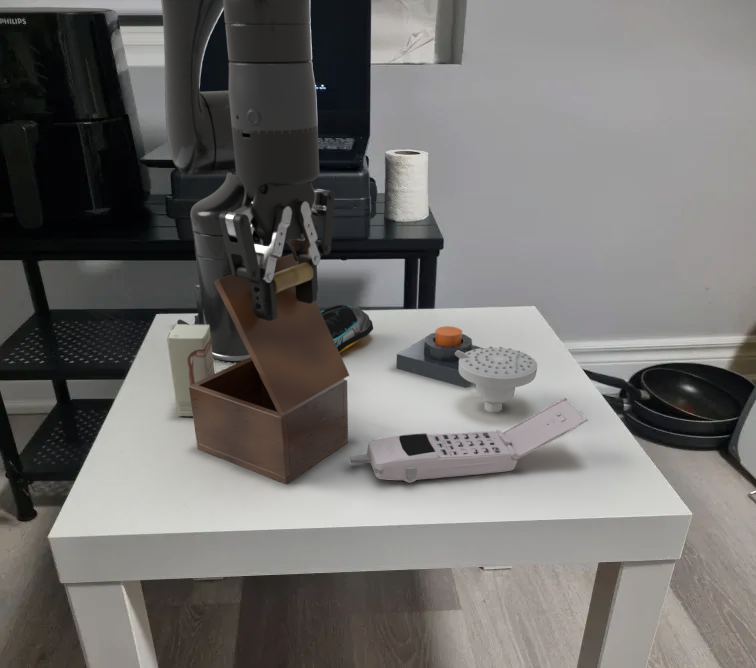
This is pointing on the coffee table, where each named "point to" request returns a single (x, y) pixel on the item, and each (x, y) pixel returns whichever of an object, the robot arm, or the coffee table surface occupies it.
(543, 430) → the mobile phone
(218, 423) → the chest
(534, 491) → the coffee table surface
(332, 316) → the computer mouse
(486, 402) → the showerhead
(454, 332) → the button
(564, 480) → the coffee table surface
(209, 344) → the off-white upright block
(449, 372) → the control block
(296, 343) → the lid
